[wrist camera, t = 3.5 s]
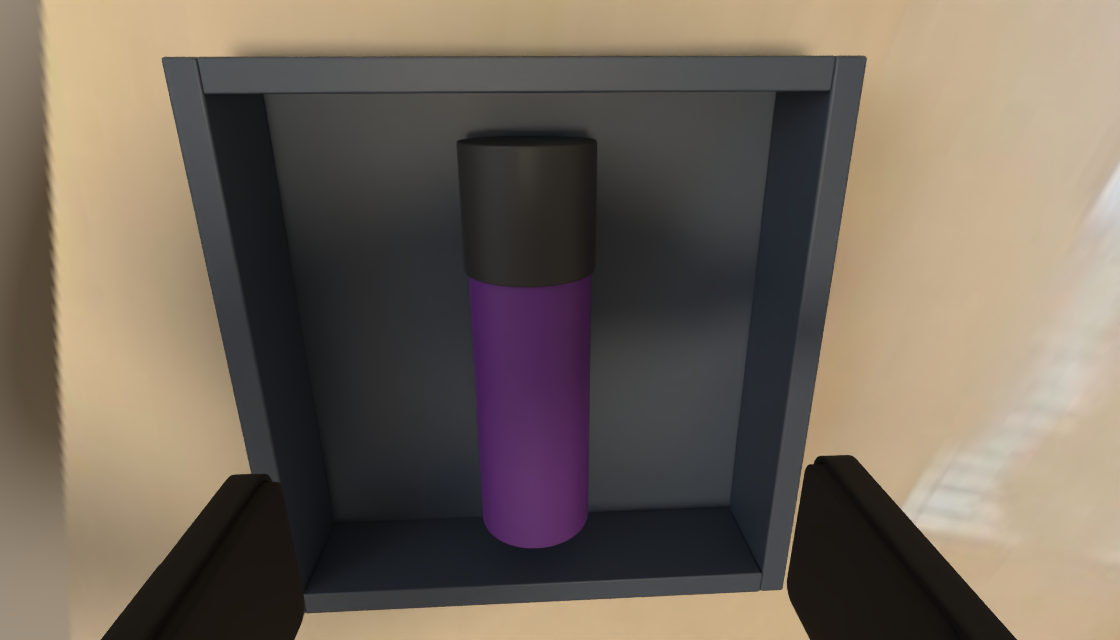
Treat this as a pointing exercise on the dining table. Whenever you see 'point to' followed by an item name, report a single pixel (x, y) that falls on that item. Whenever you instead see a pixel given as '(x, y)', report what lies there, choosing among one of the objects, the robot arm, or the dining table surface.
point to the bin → (445, 316)
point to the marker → (531, 327)
